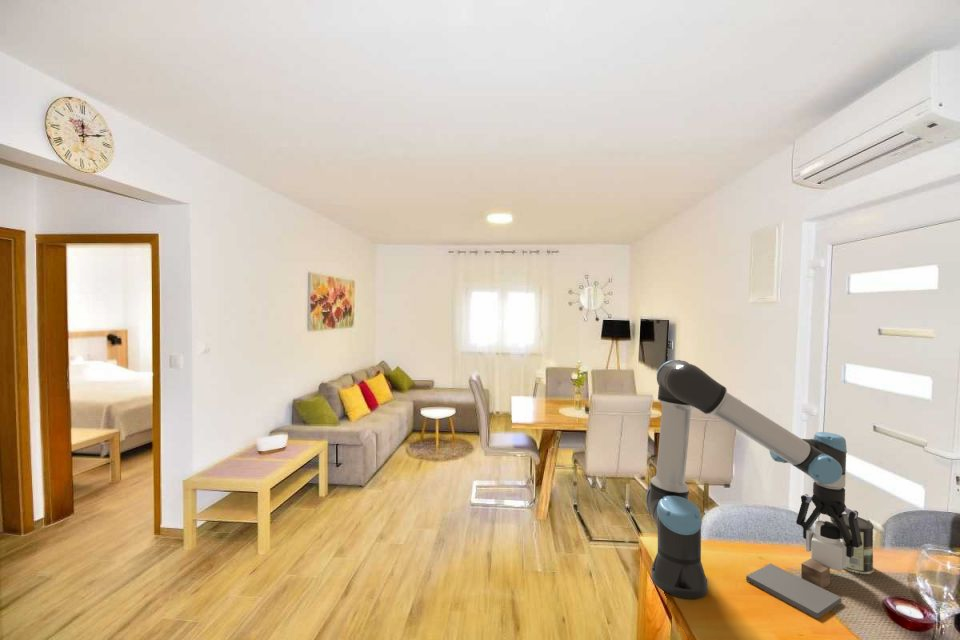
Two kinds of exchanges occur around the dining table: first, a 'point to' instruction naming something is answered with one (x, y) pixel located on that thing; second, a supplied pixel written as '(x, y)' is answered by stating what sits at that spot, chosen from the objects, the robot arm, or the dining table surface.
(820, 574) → the walnut block
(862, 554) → the coffee can
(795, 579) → the charcoal serving board
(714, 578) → the dining table surface
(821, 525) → the medicine bottle
